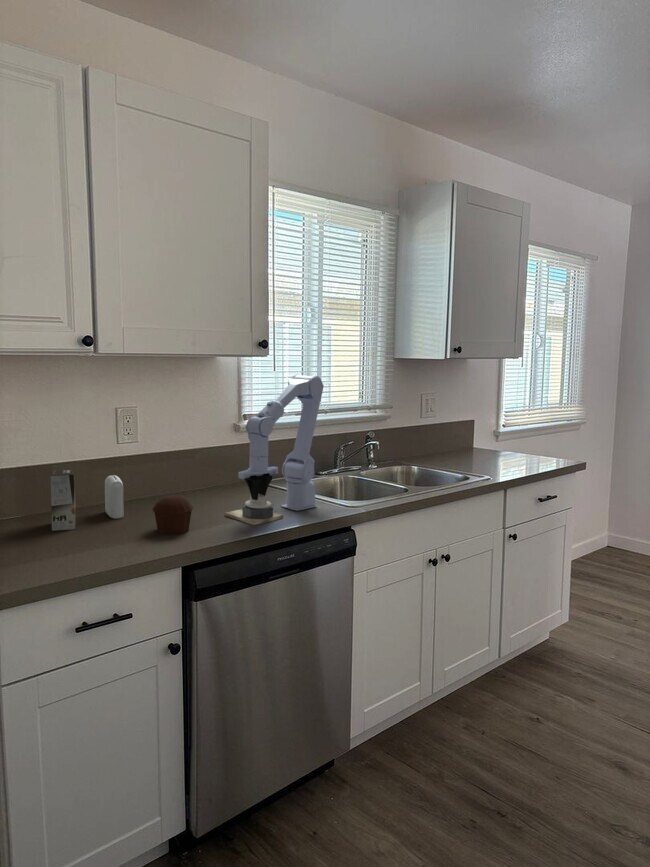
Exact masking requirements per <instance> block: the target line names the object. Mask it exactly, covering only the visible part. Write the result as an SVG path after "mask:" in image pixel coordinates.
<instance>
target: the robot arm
mask: <svg viewBox="0 0 650 867" xmlns="http://www.w3.org/2000/svg"><path fill="white" fill-rule="evenodd" d="M324 387H325V385H324V383H323V381H322V379H321V377H320V376H319V375H299V374H293V376H291V377H290V379H289V380H288V381H287V386H286V387H285V389H284V390H283V391H282V392H281V394H280V395H279V396H278V397H277V399H275V400H269V401H267V403H266V405H265V406H264V407H263V408H262V409H261V410H260V411H259V412H258V413H257V414H256V416H255V415H254V416H251V417H250V418H249V419H248V420H247V422H246V425H245V431H246V433H247V438H248V440H249V465H248V466H249V467H248V468H247V469H245V470H242V471H238V474H237V477H238V479H239V480H244V481H245V483H246V484H247V486H248V489H249V493H250V494H251V498H252V499H253V500H257V499H258V493H259V494H261V495H264V496H267V495H266V494H267V491H268V489H269V486H270V484H271V481H272V480H273V475H272V474H279V467H278V466H269V436H270V435H271V434H272V433H273V430H274V427H275V425H276V424H275V423H276V422H278V421H279V419H281V417H282V416H283V415H284V414H285V408H286V407H287V406H288V405H289V404H291V403H292V402H293V401H294V400H295V399H298V401H300V402H301V404H302V409H301V414H300V418H299V423H298V427H297V433H296V437H295V441H294V446H293V450H292V451H291V452H290V453H288V454H287V455H286V457H285V461H284V462H283V464H282V467H281V473H282V476H283V478H284V479H285V481H286V503H285V504H281V505H280V507H281V508H286V509H287V510H288V509H289V510H293V511H296V512H298V511H303V510H307V509H313V508H316V507H317V506H318V505H317V504H316V485H315V483H314V481H312V480H313V478H314V475H315V459H314V458H313V457H312V456H311V454H310V453H311V452H310V451H311V448H312V442H313V437H314V433H315V428H316V424H317V419H318V413H319V409H320V403H321V400H322V396H323V391H324Z"/></svg>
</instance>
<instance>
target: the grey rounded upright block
mask: <svg viewBox="0 0 650 867" xmlns="http://www.w3.org/2000/svg"><path fill="white" fill-rule="evenodd" d="M104 502H105V503H104V506H105V508H104V510H105V513H106V514H107V515H108V516H109V518H111V519H121V518H123V517H124V515H125V514H124V483H123V481H122V479H121V478H120V477H119V476H117V475H116V474H113V475H108V476H107V477H106V478H105V480H104Z"/></svg>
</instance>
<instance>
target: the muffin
mask: <svg viewBox="0 0 650 867" xmlns="http://www.w3.org/2000/svg"><path fill="white" fill-rule="evenodd" d="M193 508H194V506H192V504H191V503H190V502H189V501H188V499H187V498H185V497H184V496H182V495H179V494H170V495H165V496H163V497H161V498H160V499H159V500H157V502H156V503H155V505H154V506H153V507H152V510H153V512H154V517H155V523H156V529H157V533H158V534H162V535H164V536H165V535H167V536H169V535H172V536H173V535H174V536H175V535H181V534H182V535H183V534H185V533H186V532H189V530H190V524H191V518H192V517H191V516H192V511H193Z"/></svg>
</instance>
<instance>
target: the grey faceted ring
mask: <svg viewBox="0 0 650 867" xmlns="http://www.w3.org/2000/svg"><path fill="white" fill-rule="evenodd" d="M242 509H243V517H246V518H249V519H266V518H271V517H273V512H274V504H272V503H271V507H269V508H265V509H255V508H249V507H247V506H246V505H245V503H243V506H242Z"/></svg>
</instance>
